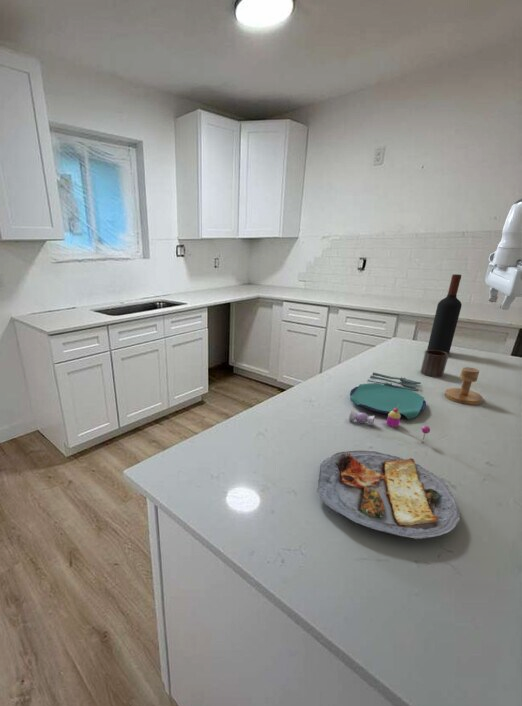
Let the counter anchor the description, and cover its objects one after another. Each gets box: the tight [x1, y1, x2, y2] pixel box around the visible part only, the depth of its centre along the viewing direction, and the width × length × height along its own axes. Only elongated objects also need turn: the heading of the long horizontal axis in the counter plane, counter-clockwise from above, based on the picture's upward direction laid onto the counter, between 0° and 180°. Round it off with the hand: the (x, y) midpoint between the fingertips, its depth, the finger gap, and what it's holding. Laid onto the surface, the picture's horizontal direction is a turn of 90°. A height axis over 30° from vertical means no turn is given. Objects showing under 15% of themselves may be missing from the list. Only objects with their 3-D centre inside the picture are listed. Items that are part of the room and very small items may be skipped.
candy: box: [348, 405, 431, 444], centre depth 92 cm, size 18×8×6 cm, turn 57°
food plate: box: [316, 450, 461, 540], centre depth 69 cm, size 25×23×4 cm
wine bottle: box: [426, 273, 463, 355], centre depth 138 cm, size 8×8×30 cm
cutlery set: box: [349, 372, 427, 420], centre depth 109 cm, size 20×30×2 cm, turn 143°
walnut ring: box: [420, 349, 450, 378], centre depth 123 cm, size 7×7×8 cm
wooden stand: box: [444, 366, 483, 406], centre depth 105 cm, size 9×9×9 cm
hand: (497, 305), depth 111 cm, fingers open, 8 cm apart
